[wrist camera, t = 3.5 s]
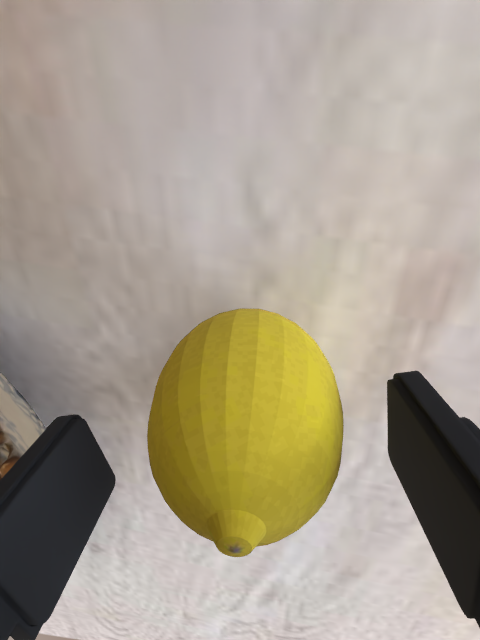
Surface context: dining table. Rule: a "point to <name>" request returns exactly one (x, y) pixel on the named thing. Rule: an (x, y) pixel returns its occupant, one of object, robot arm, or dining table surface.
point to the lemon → (245, 429)
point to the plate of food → (15, 426)
